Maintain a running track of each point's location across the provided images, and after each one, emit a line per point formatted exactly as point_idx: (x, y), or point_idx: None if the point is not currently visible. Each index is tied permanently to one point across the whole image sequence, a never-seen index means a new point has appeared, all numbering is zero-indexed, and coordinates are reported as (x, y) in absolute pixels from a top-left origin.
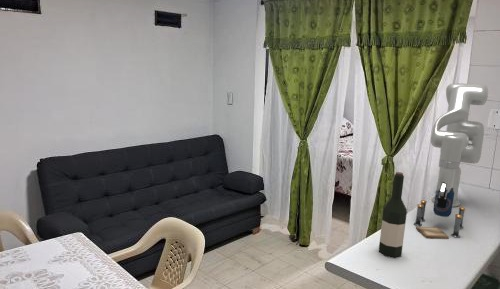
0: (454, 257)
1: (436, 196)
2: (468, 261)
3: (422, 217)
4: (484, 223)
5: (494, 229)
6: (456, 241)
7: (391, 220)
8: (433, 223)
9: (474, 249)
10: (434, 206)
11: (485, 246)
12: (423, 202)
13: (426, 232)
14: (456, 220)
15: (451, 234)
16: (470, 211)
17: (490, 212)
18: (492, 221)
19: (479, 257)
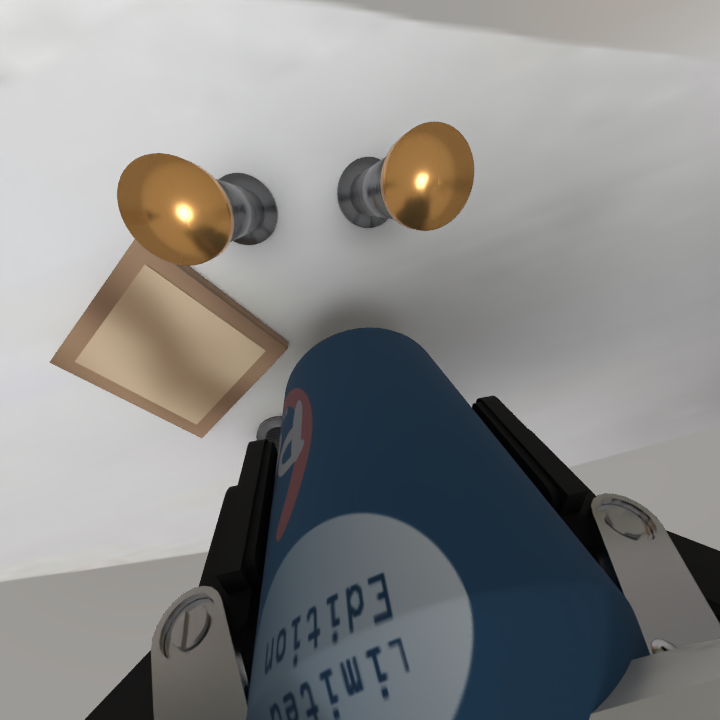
0: (11, 515)
1: (297, 512)
2: (49, 548)
3: (357, 207)
4: (549, 445)
5: None
6: (215, 457)
7: None
8: (376, 287)
9: (205, 518)
10: (311, 376)
11: None
12: (386, 192)
13: (107, 339)
14: None
15: (270, 423)
16: (697, 360)
17: (707, 417)
18: (591, 454)
19: (143, 549)
